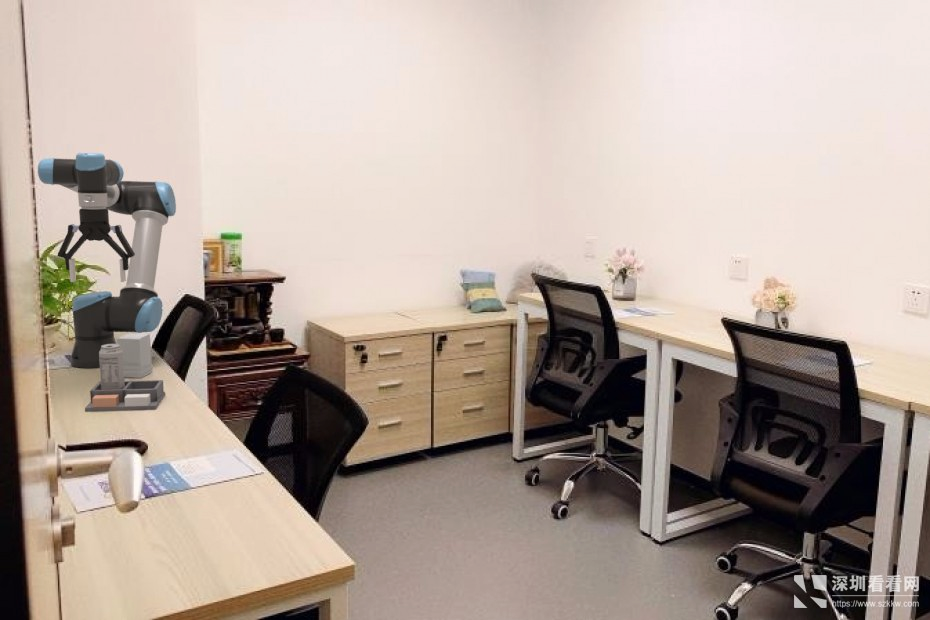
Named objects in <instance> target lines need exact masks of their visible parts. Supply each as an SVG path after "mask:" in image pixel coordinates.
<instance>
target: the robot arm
mask: <svg viewBox="0 0 930 620" xmlns="http://www.w3.org/2000/svg"><path fill="white" fill-rule="evenodd" d="M124 173H125V172H124V168H123V167H122V165H121V164H120V163H119V162H118V161H116V160H112V159H106V156H105V155H104V154H103V153H99V152H97V153H96V152H78V153H76V155H75V158H54V157H51V158H42V159H41V160H39V162H38V166H37V175H38V178H39V181H41V183H43V184H45V185H52V186H54V185H57V186H61V187H64V188H66V189H68V190H71V191H73V192H75V193H77V198H78V207H80V208H79V210H78V214H79V225H76V224H73V223H72V224H68V226H67V233H66V235H65V238H64V240H63V242H62V244H61V246H60V248H59V250H58V252H57V257H59V258H63V259H64V262H65V269H66V271H69V280H70V281H69V282H70V283H74V282H77V276H76V275H77V274H76V271H77V270H76V261H75V260H76V259H75V258H74V257H73V256H74V254H76V253H77V251H78V250H79V249H80V248H81V247H82V245H83V244H84V243H85V242H86V241H91V242H94V241H98V242H102V241H104V242H105V243H107V244H108V245H109V247H111V249H112V250H113V251H114V252H116V254H118V256H119V257H121V259H119V261H118V262H119V273H120V274H119V276H120V283H124V282H126V284H125V286H123V287H122V288H121V289H120V291H119V296H113V294H112V292H111V291H94V292H88V293H85V294H80V295H78V296H75V297H74V298H73V300H72V316H73V317H72V320H73V328H74V329H73V330H74V345H73V347H72V350H71V354H70V365H71V366H73V367H75V368H80V369H81V368H83V369H93V368H100V361H99V351H100V350H101V346H102V345H105V344H117V340H115V333H137V334H143V333H151V332H154V331H155V330H156V329H158V327H159V325H160V323H161V319H162V317H163V311H164V310H163V301H162V299H161V298H159V294H158V292H157V291H156V290H155V285H156V284H155V282H156V275H157V270H158V269H157V268H158V260H159V254H160V253H159V252H160V246H161V240H162V232H163V226H165V225H166V224H167V223H168V222H169V217H173V216H175V214H176V212H177V204H176V203H177V202H176V196H175V192H174V189H173V188H172V186H171V185H170V184H169V183H168V182H166V181H157V180H155V181H137V180H136V181H135V180H123V178H124ZM109 211H111V212H113V213H115V214H121V215H126V216H127V215H128V216H131V217H132V220H133V221H134V222H135V224H134V231H133V238H132V243H131V244H132V245H130V243H129V241H128V240H127V238H126V236H125V235H124V233H123V229H122V225H120V224H116V225H111V224H110V217H109V214H110V213H109ZM78 231H79V232H80V233H81V234H82V235H80V237H79V238H78V240H77V241H76V242H75V243H74V244H73V246H72V247H71V248H70V249H69V246H70V244H71V242H72V240H73V237H74V236H75V233H77V232H78ZM111 231H112V232H113V233H114V234H115V235H116V238H117V239H118V240H119V242H120V243H121V245H122V247H123V248H122V247H121V246H120V245H119V244H118V243H117V242H116V241H115V240H114V239H113V237H112V236H111V235H110V232H111ZM68 249H69V250H68ZM67 250H68V252H67ZM66 252H67V253H66ZM126 271H127V277H126ZM126 278H127V279H126Z"/></svg>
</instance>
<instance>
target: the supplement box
mask: <svg viewBox="0 0 930 620" xmlns="http://www.w3.org/2000/svg"><path fill="white" fill-rule="evenodd" d="M116 344H119V345H120V348H121V349H122V350H123V364H124V378H134V379H135V378H137V379H142V378H144V377H146V376H148V375H149V374H152V373H153V364H152V362H153V361H152V360H153V359H152V349H151V348H152V347H151V334H150V333H136V332H127V333H126V334H124V335H120V336H119V337H117V338H116Z"/></svg>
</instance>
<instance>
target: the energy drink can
mask: <svg viewBox="0 0 930 620" xmlns="http://www.w3.org/2000/svg"><path fill="white" fill-rule="evenodd" d="M99 361H100V367H99V374H100V375H99V376H100V382H101V390H116V389H123V388H124V387H125V382H124V381H125V377H124V364H123V350H122V349H121V348H120V345H119V344H117V343H116V344H105V345H102V346H101V350H100V351H99Z"/></svg>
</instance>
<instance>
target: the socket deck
mask: <svg viewBox="0 0 930 620" xmlns="http://www.w3.org/2000/svg"><path fill="white" fill-rule="evenodd" d="M124 382H125V387H124V388H123V389H116V390H101V381H98V382H97V383H96V385H94V386H93V388H92V389H90V391H89V393H90V394H89V396H90V402H89V403H88V404H87V405H86V406H85V407H84V411H85V412H108V411H109V412H110V411H111V412H112V411H114V412H115V411H116V412H117V411H142V410H143V411H145V410H147V411H149V410H157V408H158V407H159V406H160V404H159V403H162V401H161V400H163V399H164V398H165V397H166V391H164V380H162V379H161V380H159V379H157V380H155V379H154V380H153V379H152V380H148V379H147V380H124ZM163 397H164V398H163Z"/></svg>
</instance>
